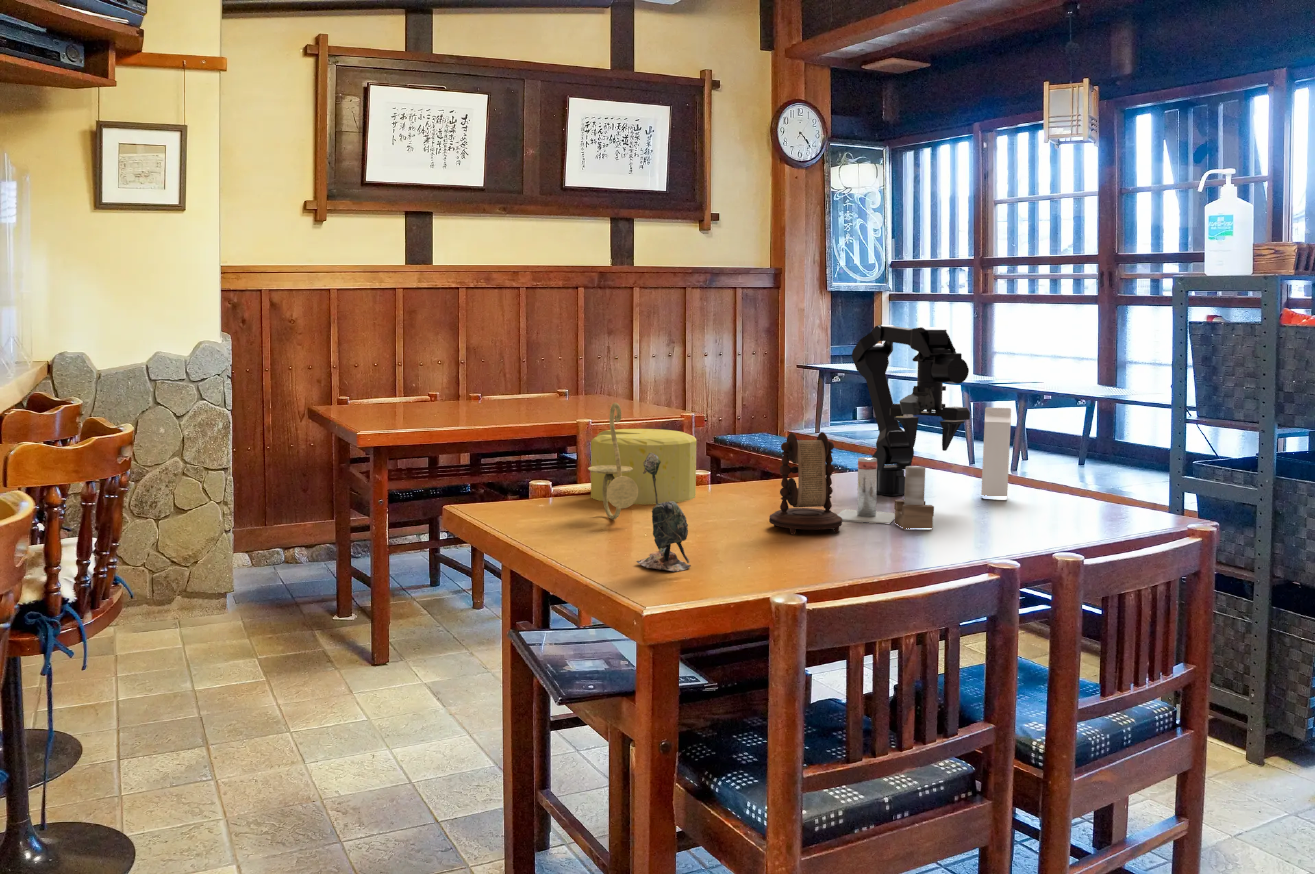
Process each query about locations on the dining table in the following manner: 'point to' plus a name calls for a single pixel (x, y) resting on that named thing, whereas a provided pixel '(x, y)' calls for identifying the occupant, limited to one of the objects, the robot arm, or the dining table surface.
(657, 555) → the stone figurine
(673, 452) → the cheese
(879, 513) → the grey mat
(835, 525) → the beaded wooden stand
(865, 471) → the silver cylinder copper band
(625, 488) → the wall sconce
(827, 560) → the dining table surface
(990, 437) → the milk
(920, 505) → the white candle wooden holder
